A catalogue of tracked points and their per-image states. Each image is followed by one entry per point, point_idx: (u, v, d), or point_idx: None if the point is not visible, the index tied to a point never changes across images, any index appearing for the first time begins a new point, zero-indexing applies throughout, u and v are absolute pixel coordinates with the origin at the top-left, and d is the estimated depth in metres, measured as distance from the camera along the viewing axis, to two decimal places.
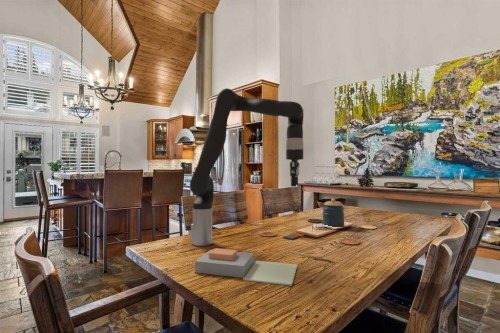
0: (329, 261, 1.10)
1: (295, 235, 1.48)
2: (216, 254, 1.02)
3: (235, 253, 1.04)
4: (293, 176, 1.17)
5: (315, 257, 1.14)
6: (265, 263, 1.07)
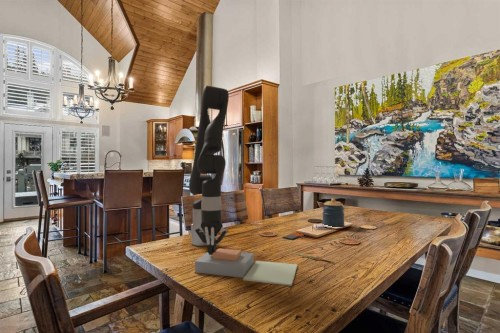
0: (328, 261, 1.09)
1: (295, 235, 1.48)
2: (220, 255, 1.01)
3: (239, 253, 1.04)
4: None
5: (314, 257, 1.14)
6: (265, 263, 1.07)
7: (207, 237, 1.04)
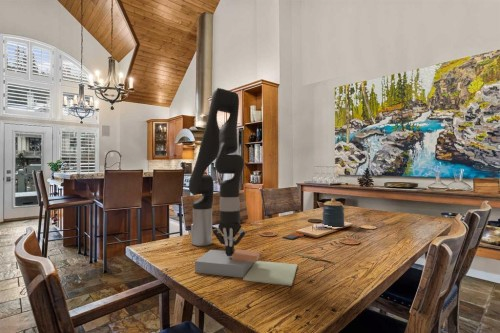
0: (328, 261, 1.09)
1: (295, 235, 1.48)
2: (240, 256, 1.00)
3: (258, 254, 1.02)
4: (235, 244, 1.02)
5: (314, 257, 1.14)
6: (265, 263, 1.07)
7: (225, 238, 1.02)
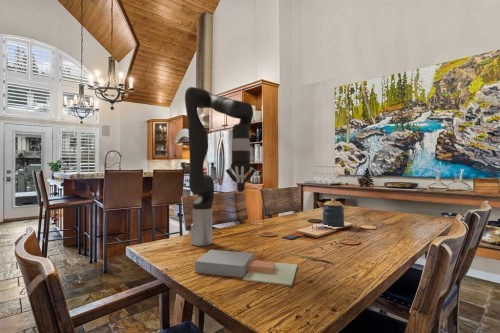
0: (327, 262, 1.09)
1: (294, 235, 1.48)
2: (255, 267, 0.98)
3: (274, 265, 1.01)
4: (246, 181, 1.15)
5: (313, 258, 1.13)
6: None
7: (237, 176, 1.14)
